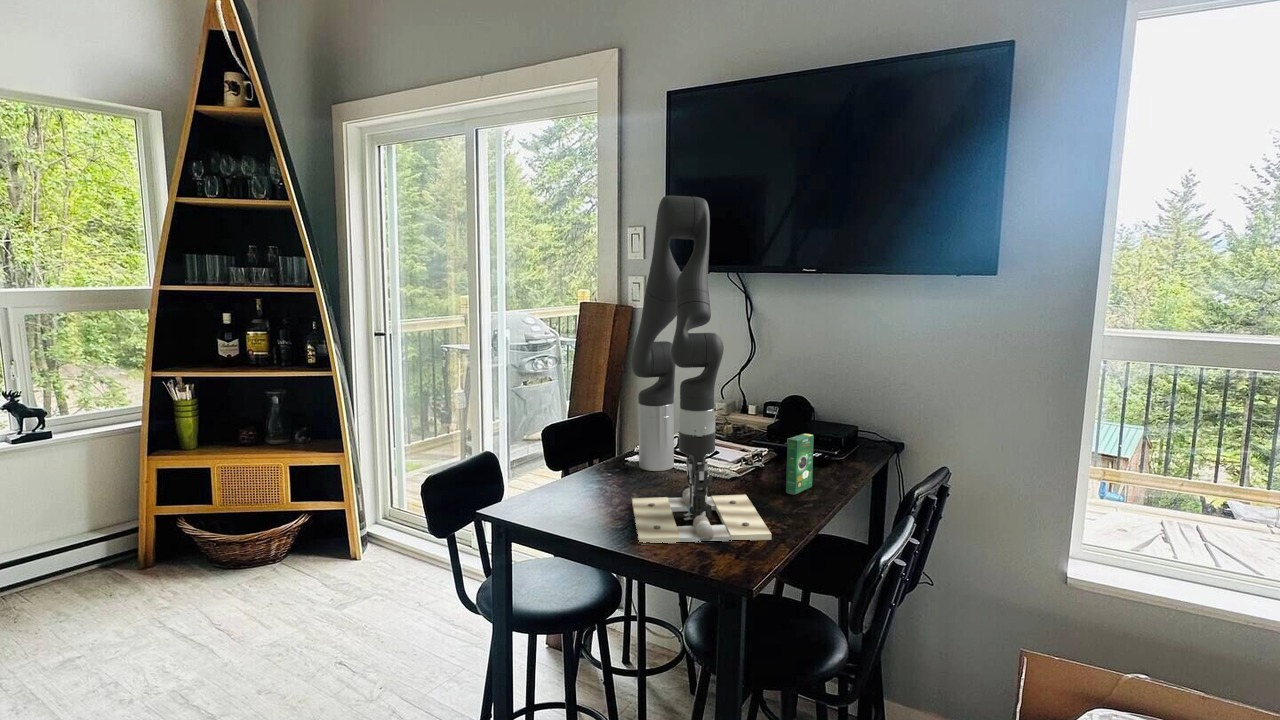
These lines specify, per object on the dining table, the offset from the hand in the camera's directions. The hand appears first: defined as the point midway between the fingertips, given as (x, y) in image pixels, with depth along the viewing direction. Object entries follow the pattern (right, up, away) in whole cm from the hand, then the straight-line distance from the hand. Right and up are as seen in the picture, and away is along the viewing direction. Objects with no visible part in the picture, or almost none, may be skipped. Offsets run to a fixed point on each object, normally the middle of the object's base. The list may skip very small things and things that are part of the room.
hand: (696, 508), depth 148 cm
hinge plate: (0, -3, 0) cm, 3 cm away
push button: (0, -2, 0) cm, 2 cm away
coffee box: (+26, 0, +19) cm, 32 cm away
